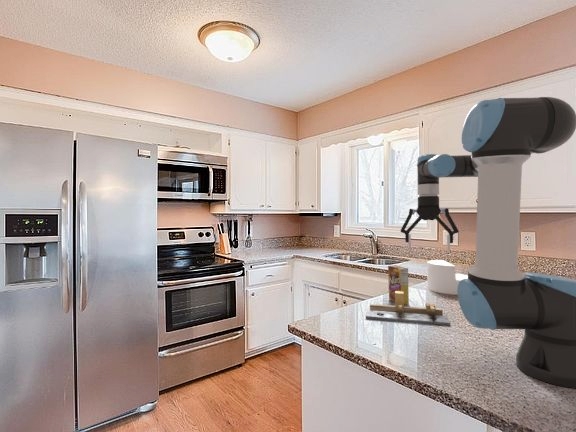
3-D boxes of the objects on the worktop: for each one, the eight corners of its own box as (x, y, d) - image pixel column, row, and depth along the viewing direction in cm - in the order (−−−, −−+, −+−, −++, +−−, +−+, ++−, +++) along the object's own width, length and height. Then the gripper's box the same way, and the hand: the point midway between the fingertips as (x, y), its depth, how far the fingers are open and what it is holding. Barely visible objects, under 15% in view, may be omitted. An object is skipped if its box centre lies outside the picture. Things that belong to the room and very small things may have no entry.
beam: (445, 322, 114) (445, 309, 114) (369, 316, 122) (368, 304, 122) (441, 314, 123) (441, 302, 123) (370, 309, 131) (370, 298, 131)
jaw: (404, 317, 118) (404, 297, 118) (395, 317, 119) (395, 296, 119) (403, 310, 127) (403, 291, 127) (395, 309, 128) (395, 290, 128)
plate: (450, 325, 111) (450, 322, 111) (365, 318, 119) (365, 315, 119) (446, 318, 119) (446, 315, 119) (367, 312, 127) (367, 309, 127)
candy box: (387, 299, 145) (387, 265, 145) (396, 299, 146) (395, 264, 146) (400, 305, 136) (400, 268, 136) (409, 304, 137) (408, 268, 137)
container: (479, 295, 151) (478, 266, 151) (433, 293, 154) (432, 265, 154) (463, 285, 171) (463, 260, 170) (423, 284, 174) (423, 259, 174)
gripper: (463, 195, 124) (463, 251, 124) (394, 197, 132) (394, 249, 132) (466, 194, 117) (467, 253, 117) (393, 196, 125) (394, 251, 125)
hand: (428, 251), depth 125 cm, fingers open, 13 cm apart
